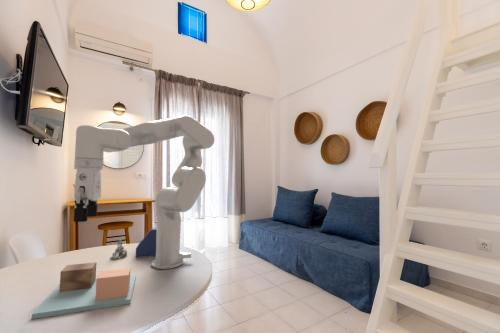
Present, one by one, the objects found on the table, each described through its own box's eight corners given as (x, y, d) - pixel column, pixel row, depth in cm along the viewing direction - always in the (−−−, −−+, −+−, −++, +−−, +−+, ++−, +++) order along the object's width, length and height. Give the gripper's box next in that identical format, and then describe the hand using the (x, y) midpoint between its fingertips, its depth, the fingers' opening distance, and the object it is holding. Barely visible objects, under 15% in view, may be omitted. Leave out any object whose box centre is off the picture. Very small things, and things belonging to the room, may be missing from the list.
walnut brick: (95, 280, 78) (96, 262, 78) (91, 288, 72) (92, 268, 73) (66, 284, 75) (67, 265, 75) (59, 292, 70) (60, 271, 70)
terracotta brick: (129, 287, 73) (130, 268, 74) (127, 296, 68) (128, 274, 68) (99, 291, 70) (100, 271, 71) (95, 300, 65) (96, 278, 65)
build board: (135, 278, 83) (135, 274, 83) (130, 303, 66) (130, 299, 66) (59, 287, 75) (59, 283, 75) (31, 319, 58) (31, 314, 58)
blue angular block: (140, 249, 116) (141, 225, 117) (165, 248, 119) (166, 224, 120) (135, 257, 104) (136, 230, 105) (164, 255, 108) (165, 229, 108)
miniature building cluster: (127, 261, 100) (128, 243, 100) (107, 261, 100) (108, 243, 100) (137, 255, 109) (138, 238, 109) (118, 254, 109) (119, 237, 109)
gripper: (94, 163, 68) (91, 223, 67) (109, 166, 84) (106, 214, 83) (63, 162, 66) (59, 224, 65) (84, 165, 82) (81, 215, 81)
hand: (86, 218), depth 74 cm, fingers open, 9 cm apart
